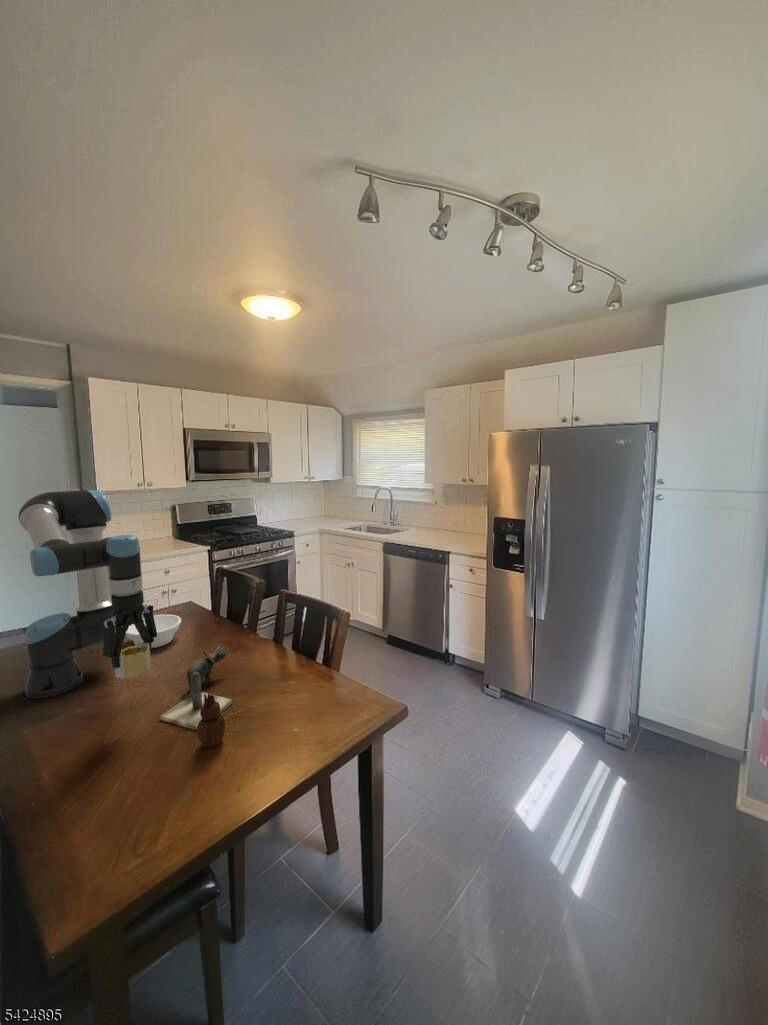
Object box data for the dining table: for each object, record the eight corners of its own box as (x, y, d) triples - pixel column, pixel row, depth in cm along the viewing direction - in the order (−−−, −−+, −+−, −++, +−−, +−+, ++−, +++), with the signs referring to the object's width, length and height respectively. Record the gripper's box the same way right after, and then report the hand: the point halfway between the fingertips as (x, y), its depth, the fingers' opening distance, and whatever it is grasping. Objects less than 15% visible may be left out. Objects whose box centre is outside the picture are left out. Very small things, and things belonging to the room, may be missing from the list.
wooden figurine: (207, 754, 108) (204, 700, 106) (194, 746, 111) (190, 693, 109) (230, 739, 113) (227, 687, 111) (216, 732, 116) (213, 681, 114)
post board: (160, 719, 122) (157, 679, 120) (197, 694, 135) (195, 657, 133) (198, 730, 117) (195, 688, 115) (232, 703, 130) (230, 665, 128)
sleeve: (112, 675, 116) (110, 654, 115) (136, 663, 123) (134, 644, 122) (131, 680, 113) (129, 659, 113) (154, 667, 120) (152, 647, 119)
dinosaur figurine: (187, 710, 127) (184, 675, 126) (163, 706, 129) (160, 672, 128) (229, 673, 148) (228, 643, 147) (208, 670, 150) (207, 641, 149)
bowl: (166, 654, 162) (164, 634, 161) (112, 654, 162) (110, 634, 161) (191, 632, 183) (190, 614, 182) (143, 632, 183) (142, 614, 182)
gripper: (100, 605, 104) (108, 691, 107) (168, 583, 123) (173, 657, 126) (80, 602, 107) (88, 686, 110) (149, 580, 126) (155, 652, 129)
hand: (133, 670), depth 118 cm, fingers closed on sleeve, 7 cm apart
